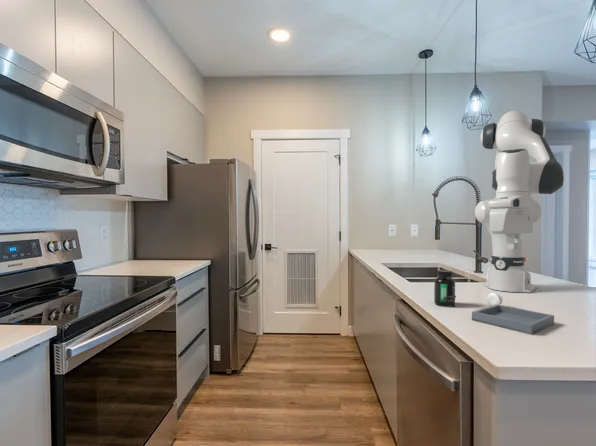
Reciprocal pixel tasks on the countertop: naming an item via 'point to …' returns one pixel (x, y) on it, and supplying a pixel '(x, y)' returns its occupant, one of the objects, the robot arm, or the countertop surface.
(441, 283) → the supplement bottle
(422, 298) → the countertop surface
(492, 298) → the small white bowl
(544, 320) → the tray
